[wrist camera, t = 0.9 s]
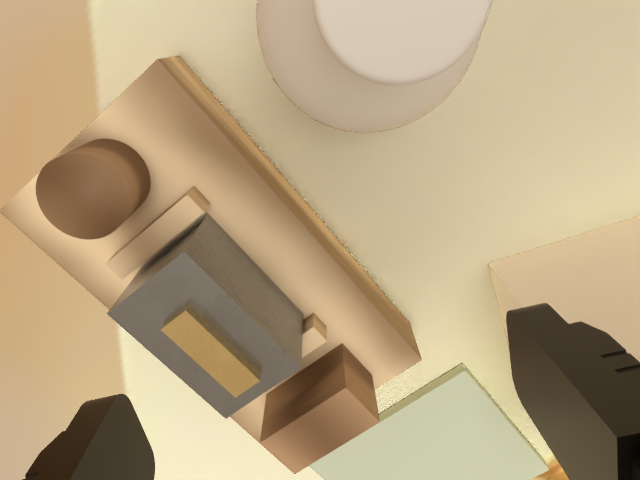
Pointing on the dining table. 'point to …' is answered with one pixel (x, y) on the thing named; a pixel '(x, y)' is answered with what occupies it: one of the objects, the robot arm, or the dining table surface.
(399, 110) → the bath foam
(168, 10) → the dining table surface
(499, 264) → the milk
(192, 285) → the lever cap
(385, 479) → the mat
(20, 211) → the wooden peg board
